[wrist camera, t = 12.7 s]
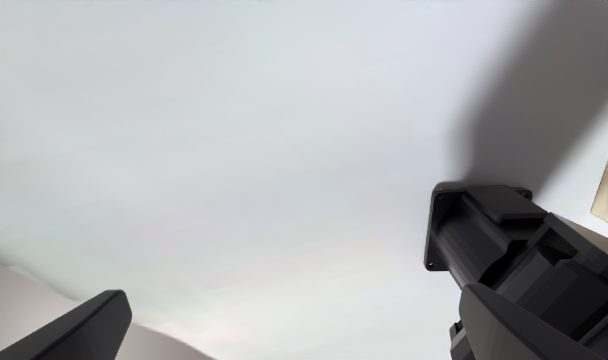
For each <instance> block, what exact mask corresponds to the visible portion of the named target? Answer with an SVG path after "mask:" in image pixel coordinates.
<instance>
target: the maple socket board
mask: <svg viewBox="0 0 608 360" xmlns="http://www.w3.org/2000/svg"><path fill="white" fill-rule="evenodd" d="M590 214H592V215H594V216H596V217H598V218H600V219H601V220H603V221H605V222H607V223H608V163H607V166H606V169H605V172H604V175H603V178H602V181H601V184H600V186H599V189H598V192H597V195H596V198H595V201H594V204H593V207H592V210H591V212H590Z"/></svg>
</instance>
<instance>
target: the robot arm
mask: <svg viewBox="0 0 608 360" xmlns="http://www.w3.org/2000/svg"><path fill="white" fill-rule="evenodd" d="M524 193H525V195H524V196H522V194H524ZM439 196H443V197H442V199H441V200H438V197H439ZM531 200H532V192H531V191H530V190H528V189H526V188H523V187H522V188H509V187H508V186H506V185H496V186H469V187H467V188H466V189H457V190H438V191H436V192H434V193H433V195H432V199H431V207H430V215H429V223H428V231H427V239H426V248H425V256H424V266H425V268H426V269H427V270H428V271H449V272H450V274H451V275H452V277H453V278H454V280H455V281H456V283H457V284H458V286H459V287H460V289H461V291H462V293H461V298H460V304H459V315H460V318H461V320H460V321H459V322H458V323H454V324H453V326H452V327H451V328H450V337H451V343H452V344H451V350H450V353H451V357H452V360H608V238H607V237H604V236H602V235H600V234H598V233H596V232H594V231H591V230H589V229H587V228H585V227H583V226H581V225H578V224H576V223H574V222H572V221H570V220H568V219H565V218H563V217H561V216H559V215H557V214H555V213H552V212H549V213H548V212H547V211H545V210H544V209H542V208H541V207H539V206H537V205H536V204H534V203H533V202H531ZM431 263H433V264H432V265H429V264H431ZM131 319H132V311H131V308H130V305H129V302H128V299H127V296H126V294H125V292H124V291H123V290H106V291H104V292H102V293H100V294H99V295H97V296H95V297H93V298H92V299H90V300H88V301H87V302H85V303H83V304H81V305H80V306H78V307H76V308H74V309H73V310H71V311H69V312H68V313H66V314H64V315H62V316H61V317H59V318H57V319H55V320H54V321H52V322H50V323H49V324H47V325H45V326H43V327H42V328H40V329H38V330H37V331H35V332H33V333H31V334H30V335H28V336H26V337H24V338H23V339H21V340H19V341H18V342H16V343H14V344H12V345H11V346H9V347H7V348H5V349H4V350H2V351H0V360H115V357H116V355H117V353H118V350H119V348H120V346H121V343H122V341H123V339H124V336H125V334H126V332H127V330H128V327H129V325H130V323H131Z"/></svg>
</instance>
